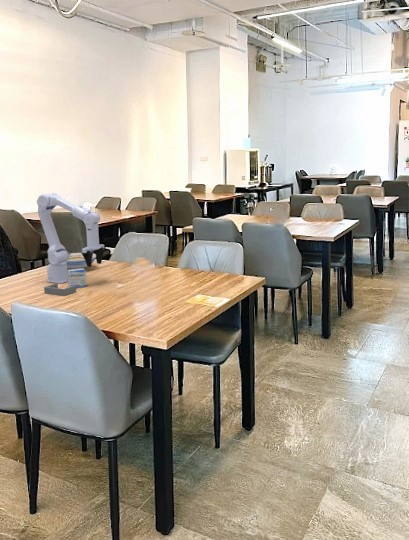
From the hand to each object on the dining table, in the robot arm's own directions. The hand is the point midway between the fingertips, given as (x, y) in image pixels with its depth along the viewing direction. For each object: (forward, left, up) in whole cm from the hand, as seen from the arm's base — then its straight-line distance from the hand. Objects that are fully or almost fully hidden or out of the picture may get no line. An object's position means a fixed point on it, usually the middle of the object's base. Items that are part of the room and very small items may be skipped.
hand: (94, 265), depth 258 cm
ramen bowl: (-32, +25, -10) cm, 42 cm away
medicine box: (-4, -8, -10) cm, 14 cm away
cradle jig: (-4, -20, -9) cm, 23 cm away
